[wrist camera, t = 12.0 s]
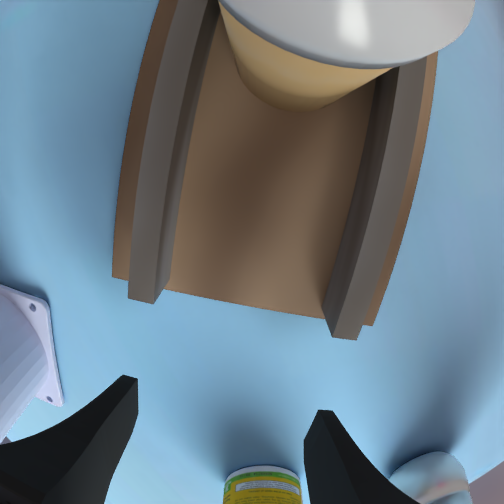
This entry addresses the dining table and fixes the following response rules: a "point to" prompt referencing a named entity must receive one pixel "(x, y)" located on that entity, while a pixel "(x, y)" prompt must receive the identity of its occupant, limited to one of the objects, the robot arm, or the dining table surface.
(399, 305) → the dining table surface
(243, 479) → the supplement bottle
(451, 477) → the plastic bottle
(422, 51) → the jar
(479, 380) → the dining table surface
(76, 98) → the dining table surface
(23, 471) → the robot arm
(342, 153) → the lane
